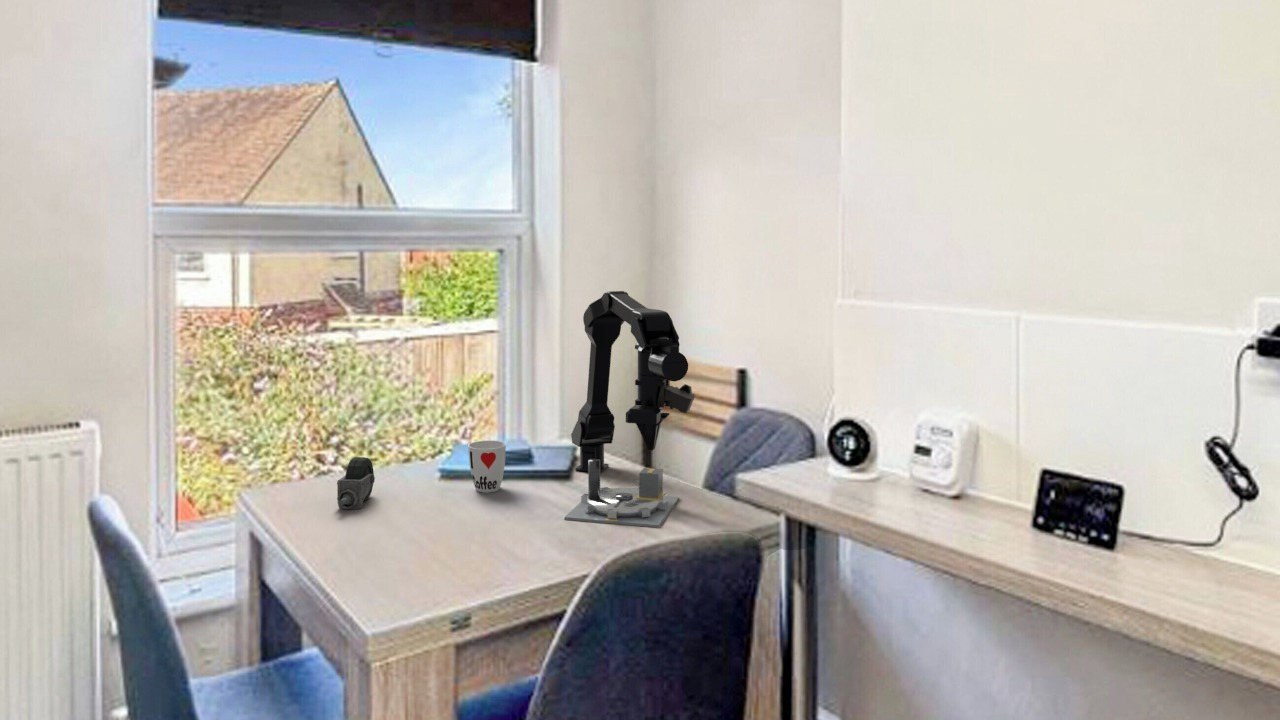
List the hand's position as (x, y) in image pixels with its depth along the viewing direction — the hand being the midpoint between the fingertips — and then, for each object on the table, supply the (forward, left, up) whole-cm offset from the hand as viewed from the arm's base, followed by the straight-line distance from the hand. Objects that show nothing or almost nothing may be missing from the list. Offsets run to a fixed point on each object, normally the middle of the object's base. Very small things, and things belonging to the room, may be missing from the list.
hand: (651, 449), depth 184 cm
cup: (-3, -38, -12) cm, 40 cm away
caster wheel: (+14, -60, -12) cm, 62 cm away
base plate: (+3, -5, -12) cm, 13 cm away
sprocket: (+3, -5, -12) cm, 13 cm away
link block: (0, 0, -10) cm, 10 cm away
